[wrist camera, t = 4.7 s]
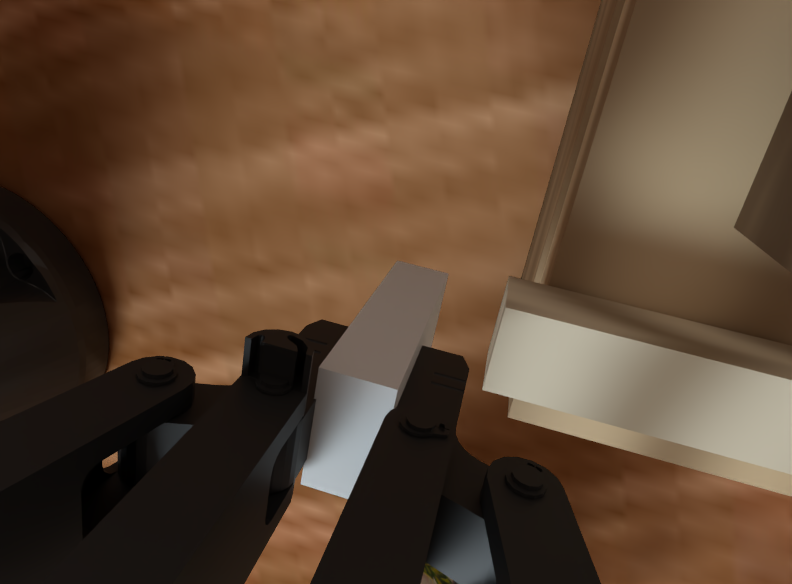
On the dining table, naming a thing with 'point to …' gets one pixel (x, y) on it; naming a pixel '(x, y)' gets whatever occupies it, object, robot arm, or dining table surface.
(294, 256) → the dining table surface
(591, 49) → the light wood open box
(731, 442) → the beige wooden bar
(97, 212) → the dining table surface
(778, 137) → the lid
